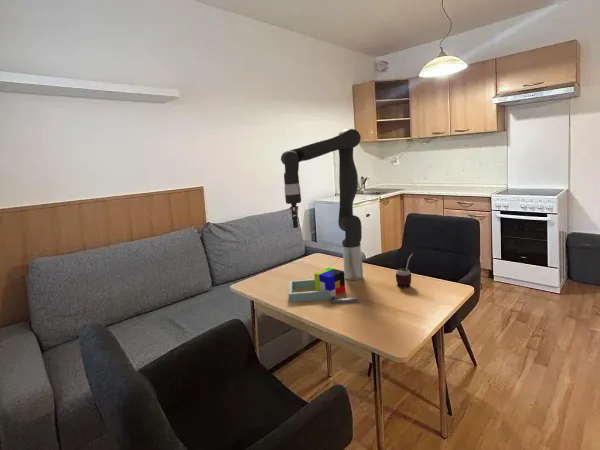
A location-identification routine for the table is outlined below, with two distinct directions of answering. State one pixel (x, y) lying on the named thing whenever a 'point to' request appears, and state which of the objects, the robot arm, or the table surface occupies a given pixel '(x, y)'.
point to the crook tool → (343, 300)
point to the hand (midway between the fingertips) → (295, 226)
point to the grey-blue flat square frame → (306, 295)
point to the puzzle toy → (330, 281)
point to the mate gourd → (404, 276)
